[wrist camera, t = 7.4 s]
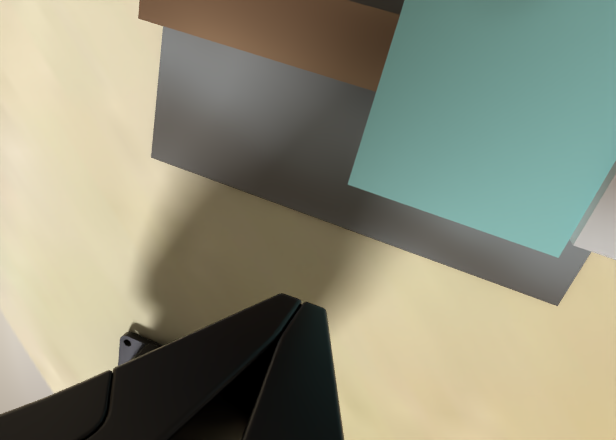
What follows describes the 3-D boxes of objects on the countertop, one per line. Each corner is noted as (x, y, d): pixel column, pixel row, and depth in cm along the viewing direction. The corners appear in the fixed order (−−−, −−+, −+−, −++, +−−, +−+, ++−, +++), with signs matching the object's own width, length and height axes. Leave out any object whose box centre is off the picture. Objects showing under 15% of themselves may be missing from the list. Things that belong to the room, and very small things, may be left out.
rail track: (556, 302, 19) (598, 417, 13) (155, 155, 22) (51, 199, 16) (829, -142, 12) (1154, -291, 6) (194, -261, 15) (40, -431, 10)
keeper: (529, 193, 17) (558, 257, 12) (377, 143, 18) (347, 184, 13) (631, -5, 14) (722, -23, 9) (440, -52, 15) (432, -91, 10)
